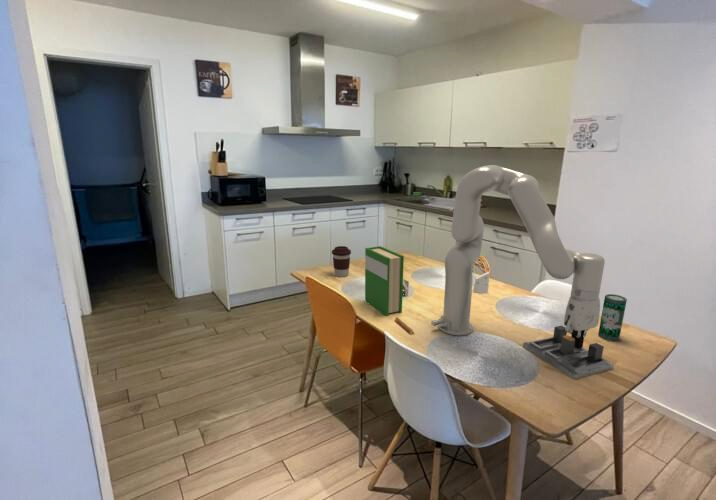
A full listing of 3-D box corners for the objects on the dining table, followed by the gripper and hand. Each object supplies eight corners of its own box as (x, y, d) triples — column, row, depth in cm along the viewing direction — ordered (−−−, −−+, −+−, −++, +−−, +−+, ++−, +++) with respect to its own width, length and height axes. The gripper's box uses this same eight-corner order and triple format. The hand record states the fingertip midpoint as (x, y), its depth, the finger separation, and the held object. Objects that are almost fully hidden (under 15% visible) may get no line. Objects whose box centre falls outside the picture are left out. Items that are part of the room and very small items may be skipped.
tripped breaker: (566, 355, 121) (568, 339, 120) (559, 351, 124) (561, 336, 122) (573, 353, 122) (575, 338, 121) (566, 349, 125) (568, 334, 123)
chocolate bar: (409, 336, 138) (409, 330, 138) (393, 322, 149) (393, 317, 148) (415, 334, 139) (415, 329, 139) (399, 321, 150) (399, 316, 149)
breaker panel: (574, 379, 112) (577, 358, 110) (522, 347, 130) (525, 328, 128) (613, 368, 117) (616, 348, 115) (558, 339, 135) (561, 321, 134)
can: (596, 336, 137) (603, 297, 133) (601, 331, 141) (608, 292, 137) (616, 342, 133) (624, 302, 129) (620, 337, 137) (628, 297, 133)
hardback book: (401, 312, 157) (403, 255, 151) (386, 316, 154) (387, 258, 148) (379, 298, 172) (380, 246, 166) (365, 301, 169) (365, 248, 163)
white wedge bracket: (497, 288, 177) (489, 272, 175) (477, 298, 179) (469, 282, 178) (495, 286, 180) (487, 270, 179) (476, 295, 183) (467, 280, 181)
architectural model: (402, 298, 173) (403, 282, 171) (392, 293, 179) (393, 278, 177) (408, 296, 175) (409, 281, 173) (398, 292, 181) (398, 277, 179)
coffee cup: (330, 273, 207) (329, 246, 203) (348, 271, 209) (347, 244, 206) (334, 278, 197) (334, 250, 194) (353, 277, 200) (353, 249, 196)
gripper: (577, 300, 113) (568, 356, 118) (613, 294, 119) (603, 348, 123) (556, 292, 120) (549, 345, 125) (591, 286, 125) (582, 337, 130)
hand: (576, 346), depth 124 cm, fingers closed
